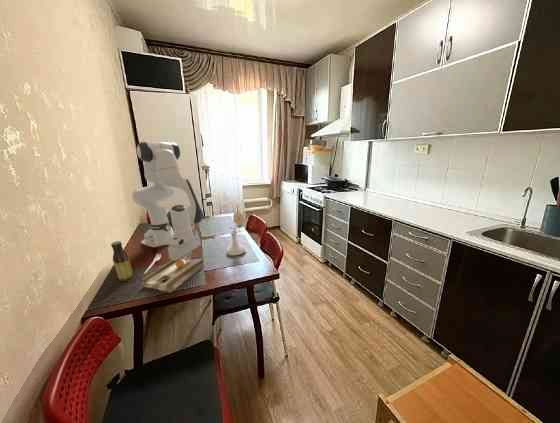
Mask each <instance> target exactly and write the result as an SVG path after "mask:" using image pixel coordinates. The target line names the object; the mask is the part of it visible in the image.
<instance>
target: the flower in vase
mask: <svg viewBox="0 0 560 423" xmlns="http://www.w3.org/2000/svg"><path fill="white" fill-rule="evenodd" d="M232 219H233V222H234V223H235V224H236V225H235V227H231V226H229V228H230V229H232V230H230V231H229V233H230V235H231V238H232V243H231V244H230V245H229V246H228V247H227V248H226V251H225V253H226V254H227V255H229V256H240V255H242V254H243V253H245V251H246V247H245V246H243V245H242V244H240V243H238V241H237V240H238V239H237V236H238V235H237V234H238V232H239V230H237V229H236V228H238V229H241V228H243V227H244V224H245V222H246V217H245V215H244V214H243V213H242V212H239V211H238V212H235V213H234V214H233V216H232Z"/></svg>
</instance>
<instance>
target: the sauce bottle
mask: <svg viewBox="0 0 560 423" xmlns="http://www.w3.org/2000/svg"><path fill="white" fill-rule="evenodd" d="M110 245H111V248H112V250H113V251H112V252H113V254H112V263H113V265H114V269H115V271H116V275H117V278H118V280H119V282H126V281H129V280H131V279H132V278H133V277H134V274H133V269H132V266H131V262H130V259H129V256H128V253H127V252H126V251H125V250H124V248H123V243H122V241H119V240H118V241H113V242H112V243H111V244H110Z"/></svg>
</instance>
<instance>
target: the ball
mask: <svg viewBox="0 0 560 423" xmlns="http://www.w3.org/2000/svg"><path fill="white" fill-rule="evenodd" d="M183 266H184V262H183V261H182V260H178V261H177V262H176V267H178V268H181V267H183Z"/></svg>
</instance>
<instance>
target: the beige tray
mask: <svg viewBox="0 0 560 423" xmlns="http://www.w3.org/2000/svg"><path fill="white" fill-rule="evenodd" d="M178 260H182V261H183V262H184V266H183V267H181V268H178V267H176V262H177V261H178ZM178 260H177V261H174V260H171V259H170V261H168V262H167V263H166V264H164V265H162V266H160V267H159V268H157V269H156V270H154V271H153V272H151V273H150V274H148V275H146V276H145V277H143V278H142V279H141V282H142V287H143V288H147V287H148V288H147V289H151V288H153V290H156V289H158V291H161V292H167V293H172V292H173V291H174V290H176V289H177V288H178V287H179V286H180V285H182V284H183V283H184V282H186V281H187V280H188V279H189V278H191V277H192V276H193V275H194V274H196V273H197V272H199V271H200V269H202V268H203V267H204V266H205V265H204V260H203V259H202V258H201V259H200V260H193V259H190V260H188V261H185V259H184V258H182V257H181V258H180V259H178ZM163 280H164V281H165V282H163Z"/></svg>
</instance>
